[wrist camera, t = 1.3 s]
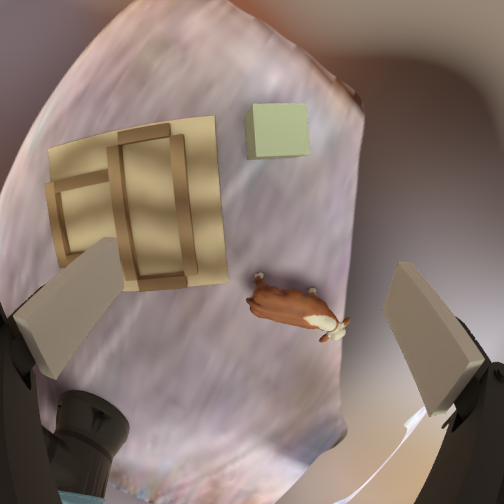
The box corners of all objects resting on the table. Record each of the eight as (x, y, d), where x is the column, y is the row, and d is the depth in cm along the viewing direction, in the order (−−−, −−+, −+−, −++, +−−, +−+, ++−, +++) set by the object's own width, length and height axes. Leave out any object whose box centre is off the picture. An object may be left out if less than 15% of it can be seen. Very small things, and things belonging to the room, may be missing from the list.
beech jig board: (228, 279, 36) (229, 287, 33) (76, 292, 34) (68, 299, 31) (214, 117, 30) (213, 112, 27) (52, 149, 28) (42, 149, 25)
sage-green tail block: (289, 157, 32) (310, 154, 24) (247, 159, 32) (256, 156, 24) (286, 117, 31) (306, 103, 23) (244, 118, 30) (252, 103, 23)
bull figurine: (323, 320, 39) (344, 352, 31) (237, 291, 36) (243, 323, 28) (338, 294, 38) (363, 323, 30) (251, 261, 35) (261, 287, 27)
